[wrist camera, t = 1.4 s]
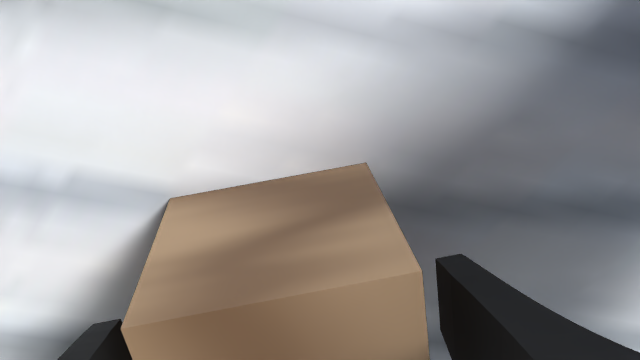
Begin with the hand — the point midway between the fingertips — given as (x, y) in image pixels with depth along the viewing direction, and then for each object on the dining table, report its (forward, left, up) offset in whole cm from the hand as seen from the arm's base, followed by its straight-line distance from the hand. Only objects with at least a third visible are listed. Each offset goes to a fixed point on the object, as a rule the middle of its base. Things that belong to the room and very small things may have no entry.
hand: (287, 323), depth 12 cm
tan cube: (0, 0, -3) cm, 3 cm away
